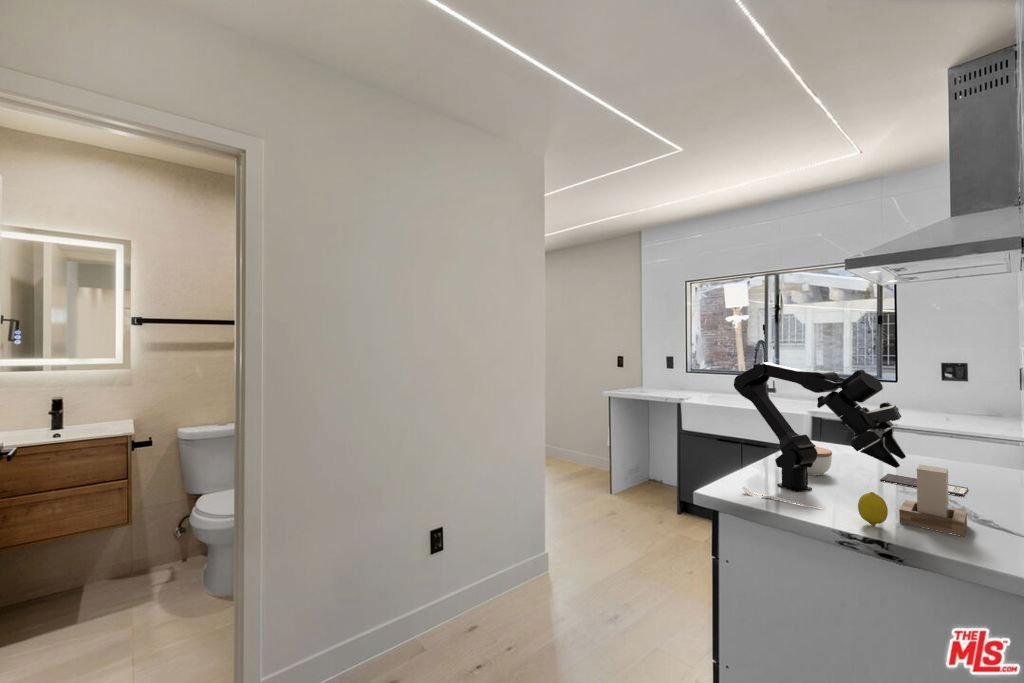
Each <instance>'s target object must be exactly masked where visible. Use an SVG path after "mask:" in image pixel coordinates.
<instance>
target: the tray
mask: <svg viewBox="0 0 1024 683" xmlns="http://www.w3.org/2000/svg"><path fill="white" fill-rule="evenodd" d="M948 513H949V518H945V517H940V516H935V515H930V514H925V513H921V512H917V501H913V500H909V499H904V501H903V502H902V504H901V506H900V508H899V523H900V524H904V525H908V524H909V526H913V525H914V527H917V526H919V527H918V528H921V527H924V528H923V529H926V528H929V529H928V530H930V529H933V530H932V531H935V530H938V531H937V532H939V531H942V532H941V533H944V532H946V533H945V534H948V533H952V534H956V535H955V536H957V535H960V536H959V537H961V536H963V537H962V538H965V536H966V531H967V527H968V512H967V511H964V510H960V509H953V508H951V507H950V508H949V507H948ZM952 534H951V535H952Z"/></svg>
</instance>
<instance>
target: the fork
mask: <svg viewBox="0 0 1024 683" xmlns="http://www.w3.org/2000/svg"><path fill="white" fill-rule="evenodd" d="M741 490H742V491H743V492H744V493H745V494H747V495H748V496H750V497H752V498H753V497H754V498H757V497H756V496H757V495H758V494H759V493H757V492H754V491H752V490H751V489H749V488H747V487H746V486H742V487H741ZM756 494H757V495H756ZM762 495H763V496H761V498H760V499H770V498H771V500H774V499H776V500H775V501H778V500H781V501H780V502H782V501H786V502H791V503H796V504H800V505H804V506H803V507H805V506H807V507H806V508H809V507H812V508H811V509H814V508H816V510H819V509H821V508H820V507H818V506H817V507H816V506H812V505H809V504H805V503H801V502H797V501H793V500H789V499H787V498H782V497H779V496H775V495H770V494H762ZM786 502H785V503H786ZM800 505H799V506H800Z"/></svg>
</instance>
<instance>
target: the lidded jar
mask: <svg viewBox="0 0 1024 683" xmlns="http://www.w3.org/2000/svg"><path fill="white" fill-rule="evenodd" d="M815 449H816V450H817V453H818V454H817V458H816V460H815V461H814V462H813V465H812V467H808V468H807V472H808V474H809V475H808V476H813V475H818V476H817V477H819V475H822V476H824V475H825V473H827V472H828V471H829V470H830V468H831V465H832V460H833V459H832V458H833V456H832V455H833V451H832V450H830V449H828V448H824V447H819V446H816V447H815ZM823 474H824V475H823Z"/></svg>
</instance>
